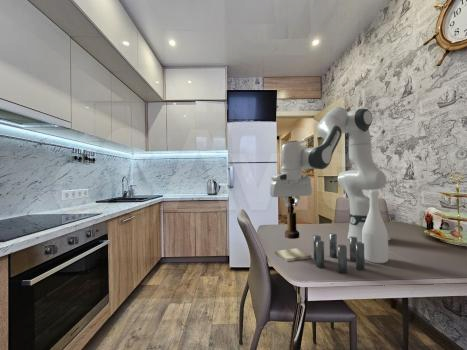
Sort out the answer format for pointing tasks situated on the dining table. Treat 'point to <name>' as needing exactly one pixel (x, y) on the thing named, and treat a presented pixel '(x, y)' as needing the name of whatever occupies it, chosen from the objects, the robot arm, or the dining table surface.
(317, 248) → the capsules
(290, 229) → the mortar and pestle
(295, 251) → the birch board
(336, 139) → the robot arm
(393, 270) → the dining table surface
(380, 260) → the wine bottle
